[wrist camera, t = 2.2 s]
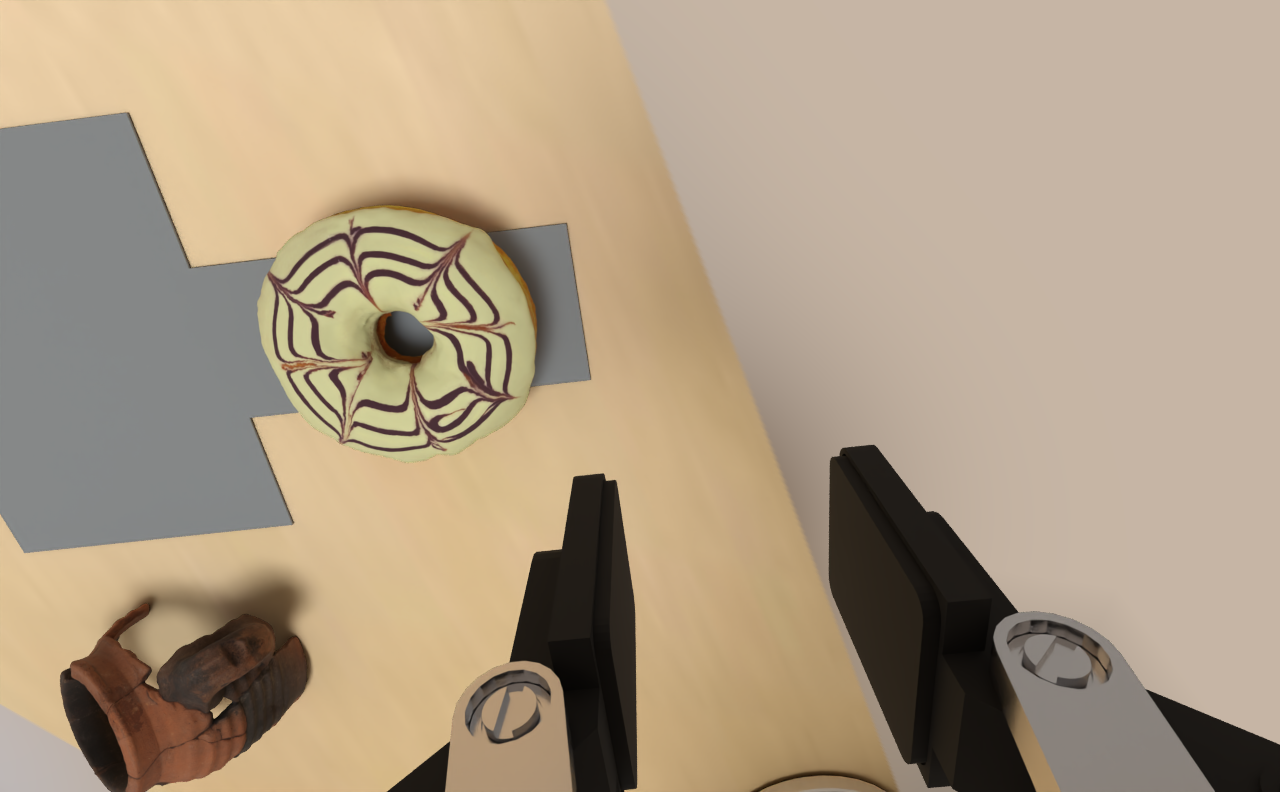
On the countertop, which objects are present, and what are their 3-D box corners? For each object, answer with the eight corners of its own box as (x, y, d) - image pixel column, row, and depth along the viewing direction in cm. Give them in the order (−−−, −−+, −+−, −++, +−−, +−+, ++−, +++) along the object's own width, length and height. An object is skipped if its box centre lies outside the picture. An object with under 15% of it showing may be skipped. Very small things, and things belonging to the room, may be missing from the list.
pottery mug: (283, 729, 38) (123, 843, 31) (203, 601, 39) (33, 682, 32) (362, 660, 32) (185, 782, 25) (265, 510, 33) (70, 586, 26)
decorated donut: (568, 407, 29) (561, 445, 26) (350, 449, 30) (314, 492, 26) (505, 175, 25) (485, 184, 22) (252, 230, 26) (194, 248, 22)
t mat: (540, 60, 23) (540, 60, 23) (607, 490, 31) (607, 491, 31) (-220, 157, 24) (-223, 157, 24) (26, 551, 32) (24, 553, 32)
